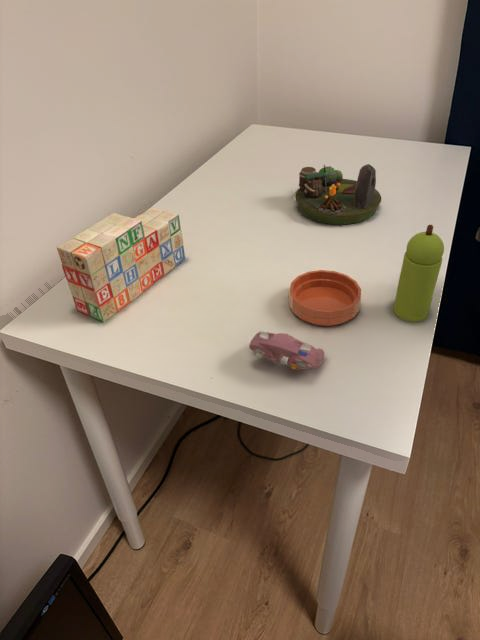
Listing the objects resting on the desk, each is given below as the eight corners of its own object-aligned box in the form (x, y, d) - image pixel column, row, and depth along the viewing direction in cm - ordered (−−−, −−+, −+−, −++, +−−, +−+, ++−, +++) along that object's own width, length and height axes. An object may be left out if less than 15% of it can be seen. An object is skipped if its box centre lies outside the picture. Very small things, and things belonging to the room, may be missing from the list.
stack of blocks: (160, 251, 93) (150, 190, 85) (186, 259, 90) (178, 198, 82) (75, 311, 79) (54, 245, 71) (103, 323, 76) (84, 256, 68)
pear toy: (435, 313, 75) (459, 226, 66) (411, 326, 73) (433, 238, 63) (409, 297, 79) (428, 212, 69) (386, 308, 77) (402, 223, 67)
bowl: (373, 310, 76) (376, 294, 74) (319, 337, 72) (321, 321, 70) (327, 278, 84) (328, 262, 81) (275, 301, 79) (275, 285, 77)
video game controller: (252, 363, 70) (241, 345, 64) (263, 336, 72) (254, 315, 66) (317, 384, 67) (312, 366, 61) (328, 354, 68) (324, 334, 62)
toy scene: (348, 236, 94) (354, 184, 88) (277, 209, 104) (278, 160, 98) (395, 203, 104) (404, 154, 97) (326, 182, 114) (330, 136, 107)
